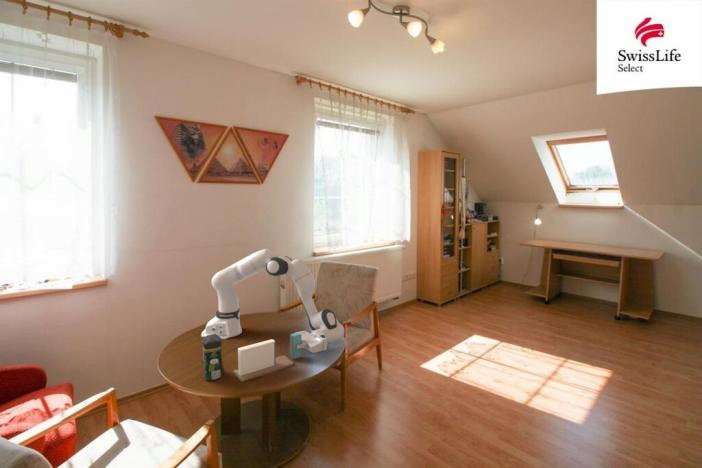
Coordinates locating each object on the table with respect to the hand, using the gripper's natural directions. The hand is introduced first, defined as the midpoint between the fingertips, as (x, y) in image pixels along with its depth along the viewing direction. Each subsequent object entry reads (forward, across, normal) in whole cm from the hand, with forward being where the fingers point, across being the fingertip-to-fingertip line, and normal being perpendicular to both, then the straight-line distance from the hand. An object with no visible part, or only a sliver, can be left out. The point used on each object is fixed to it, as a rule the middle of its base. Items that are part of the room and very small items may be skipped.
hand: (294, 345), depth 173 cm
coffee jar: (+37, -8, +8) cm, 39 cm away
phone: (+35, -16, +8) cm, 40 cm away
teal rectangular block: (-1, 0, +6) cm, 6 cm away
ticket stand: (+16, 0, +8) cm, 18 cm away
